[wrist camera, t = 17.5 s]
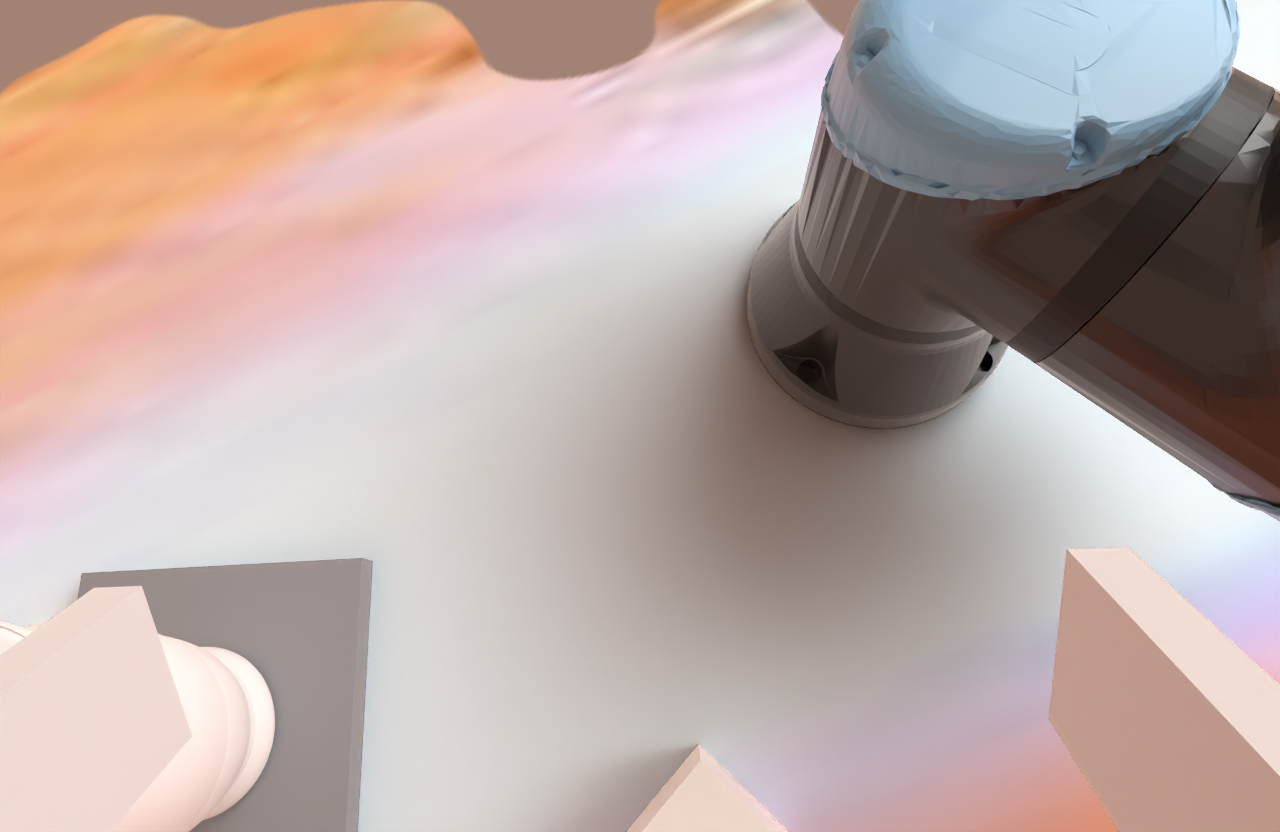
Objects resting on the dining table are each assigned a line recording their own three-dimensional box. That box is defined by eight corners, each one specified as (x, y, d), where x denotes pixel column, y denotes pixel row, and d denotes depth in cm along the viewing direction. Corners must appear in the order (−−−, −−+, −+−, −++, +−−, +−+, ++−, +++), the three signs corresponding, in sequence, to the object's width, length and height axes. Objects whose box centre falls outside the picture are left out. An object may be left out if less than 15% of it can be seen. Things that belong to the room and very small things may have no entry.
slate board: (372, 560, 43) (361, 558, 42) (353, 900, 38) (340, 910, 37) (101, 575, 44) (81, 573, 43) (49, 911, 39) (24, 921, 38)
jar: (330, 770, 39) (121, 844, 24) (145, 887, 38) (-187, 1036, 23) (250, 589, 42) (22, 561, 27) (77, 693, 41) (-255, 720, 26)
